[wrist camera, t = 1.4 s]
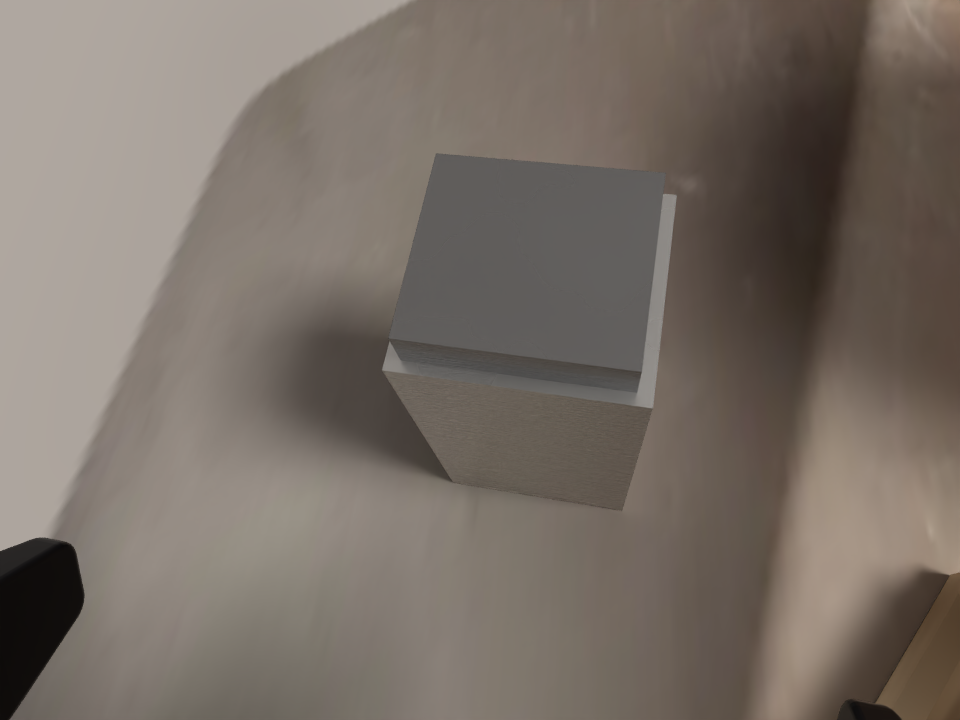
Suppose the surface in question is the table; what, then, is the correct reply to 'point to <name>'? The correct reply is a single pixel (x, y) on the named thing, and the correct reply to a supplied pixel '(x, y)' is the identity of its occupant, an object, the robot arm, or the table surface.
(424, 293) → the grey lidded container
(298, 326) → the table surface
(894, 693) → the wooden tray
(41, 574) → the robot arm
